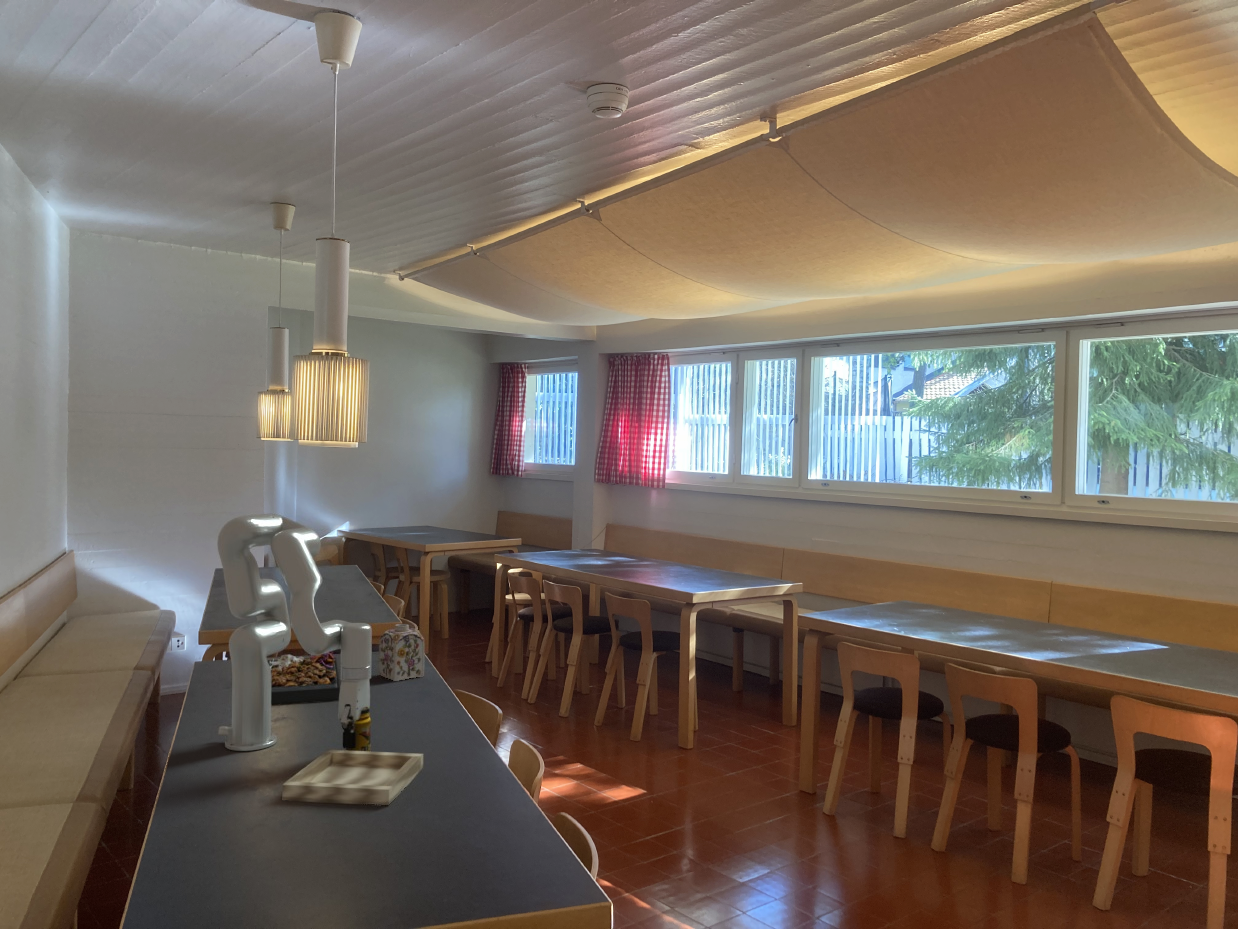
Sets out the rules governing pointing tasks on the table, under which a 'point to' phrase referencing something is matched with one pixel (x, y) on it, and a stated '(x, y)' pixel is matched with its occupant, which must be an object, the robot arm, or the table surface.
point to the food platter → (304, 679)
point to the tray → (353, 777)
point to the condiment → (362, 732)
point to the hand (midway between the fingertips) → (355, 742)
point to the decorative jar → (401, 653)
